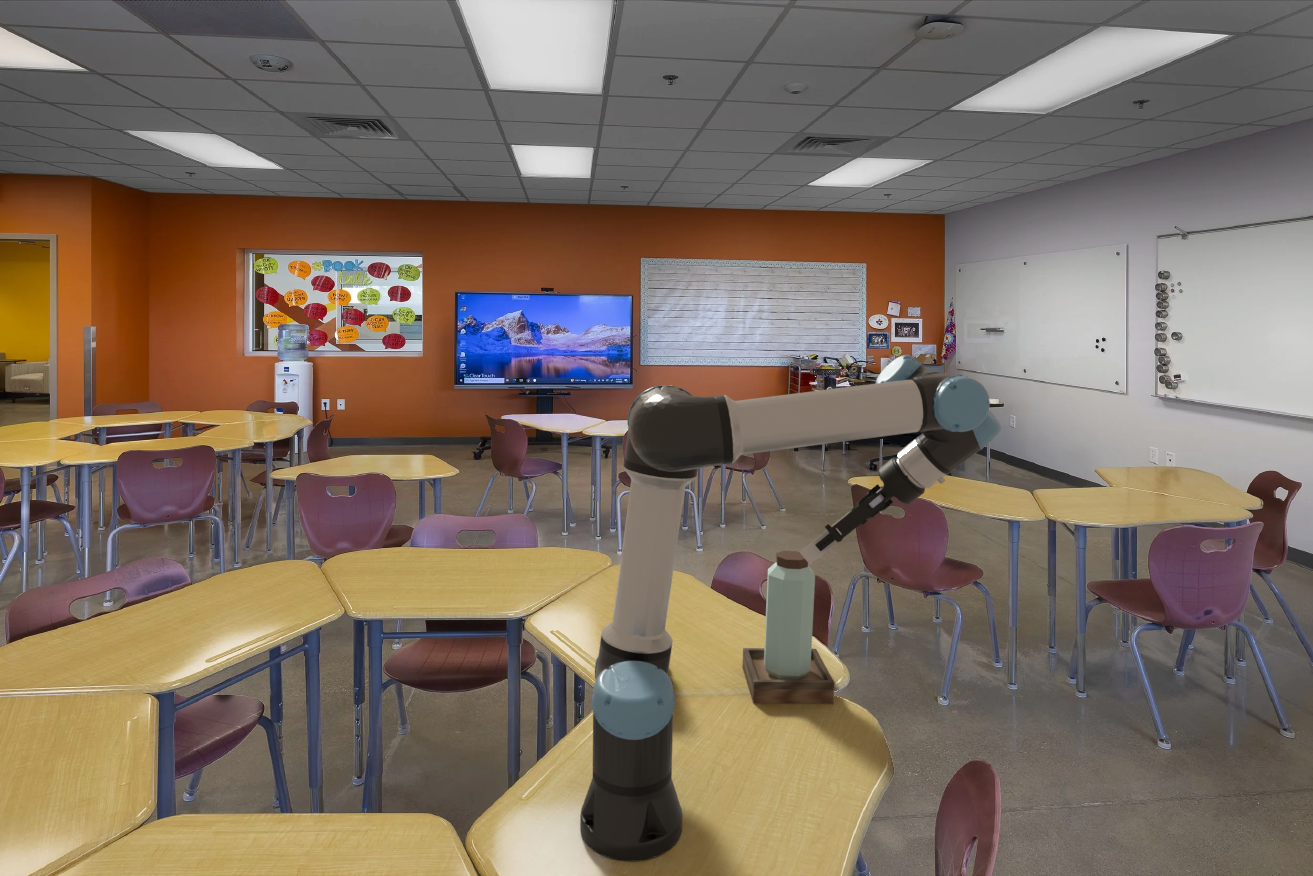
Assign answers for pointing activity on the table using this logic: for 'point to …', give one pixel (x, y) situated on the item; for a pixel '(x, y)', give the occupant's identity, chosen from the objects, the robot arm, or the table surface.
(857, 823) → the table surface
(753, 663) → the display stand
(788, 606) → the water bottle
